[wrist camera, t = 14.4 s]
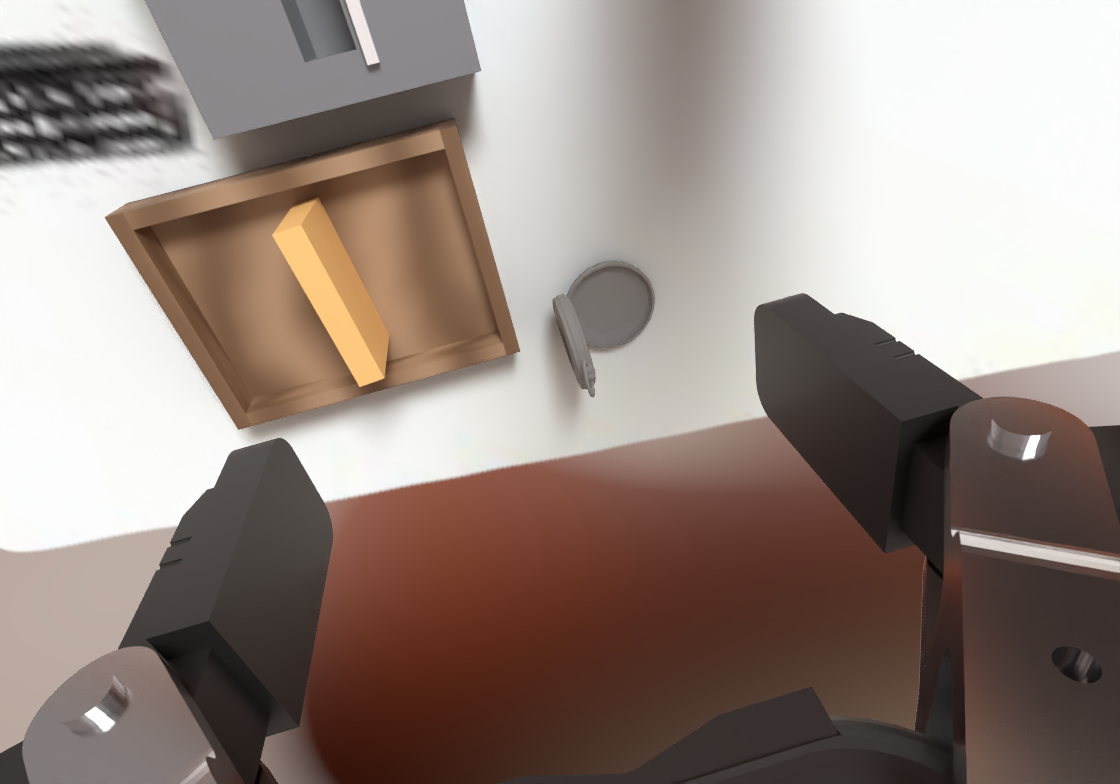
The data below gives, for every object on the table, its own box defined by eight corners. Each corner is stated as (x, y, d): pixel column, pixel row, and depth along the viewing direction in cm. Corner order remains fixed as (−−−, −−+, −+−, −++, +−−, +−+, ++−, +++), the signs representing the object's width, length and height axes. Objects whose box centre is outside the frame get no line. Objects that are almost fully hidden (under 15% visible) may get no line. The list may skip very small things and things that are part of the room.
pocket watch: (668, 293, 46) (722, 355, 37) (593, 373, 48) (628, 448, 40) (590, 226, 42) (630, 278, 34) (513, 316, 44) (533, 386, 36)
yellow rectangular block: (300, 224, 32) (384, 378, 37) (318, 196, 37) (389, 335, 42) (272, 235, 32) (359, 387, 37) (293, 205, 37) (367, 343, 42)
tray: (454, 118, 37) (456, 125, 34) (515, 332, 45) (520, 351, 43) (126, 203, 36) (104, 217, 34) (249, 406, 44) (238, 429, 42)
